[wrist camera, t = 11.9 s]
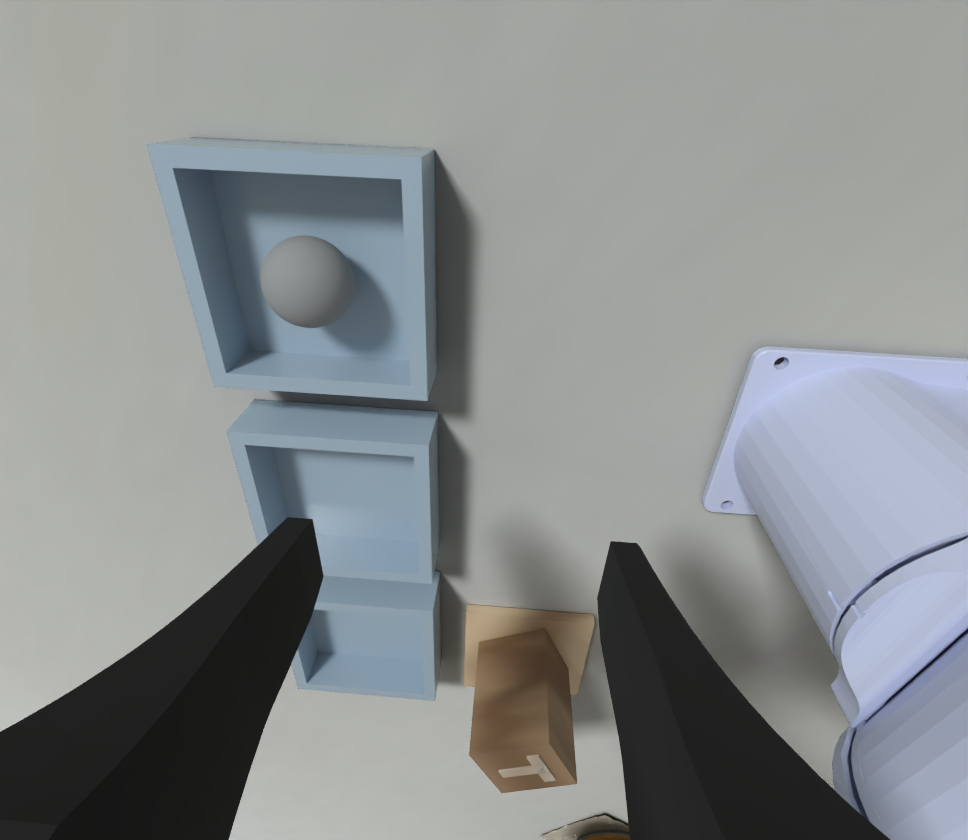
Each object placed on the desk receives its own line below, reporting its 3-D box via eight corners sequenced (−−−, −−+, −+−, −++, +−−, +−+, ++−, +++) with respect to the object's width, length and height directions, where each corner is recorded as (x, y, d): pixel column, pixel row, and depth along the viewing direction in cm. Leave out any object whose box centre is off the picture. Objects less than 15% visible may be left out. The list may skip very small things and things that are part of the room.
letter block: (544, 627, 29) (549, 745, 23) (568, 668, 30) (577, 786, 25) (478, 641, 30) (468, 757, 24) (505, 680, 31) (501, 795, 26)
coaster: (593, 614, 29) (594, 624, 28) (576, 686, 32) (577, 695, 32) (467, 604, 29) (466, 613, 28) (464, 676, 33) (463, 685, 32)
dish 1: (434, 148, 17) (421, 157, 15) (437, 369, 21) (427, 400, 19) (192, 137, 17) (146, 143, 15) (244, 357, 21) (213, 386, 19)
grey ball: (361, 228, 18) (333, 251, 15) (368, 311, 19) (344, 345, 17) (275, 224, 18) (233, 245, 15) (289, 307, 19) (254, 339, 17)
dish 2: (437, 411, 22) (428, 445, 20) (439, 544, 26) (432, 584, 24) (254, 399, 22) (226, 431, 20) (285, 533, 27) (265, 570, 25)
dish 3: (439, 571, 28) (432, 611, 25) (441, 660, 32) (435, 700, 30) (291, 559, 28) (272, 598, 26) (312, 649, 32) (298, 688, 30)
